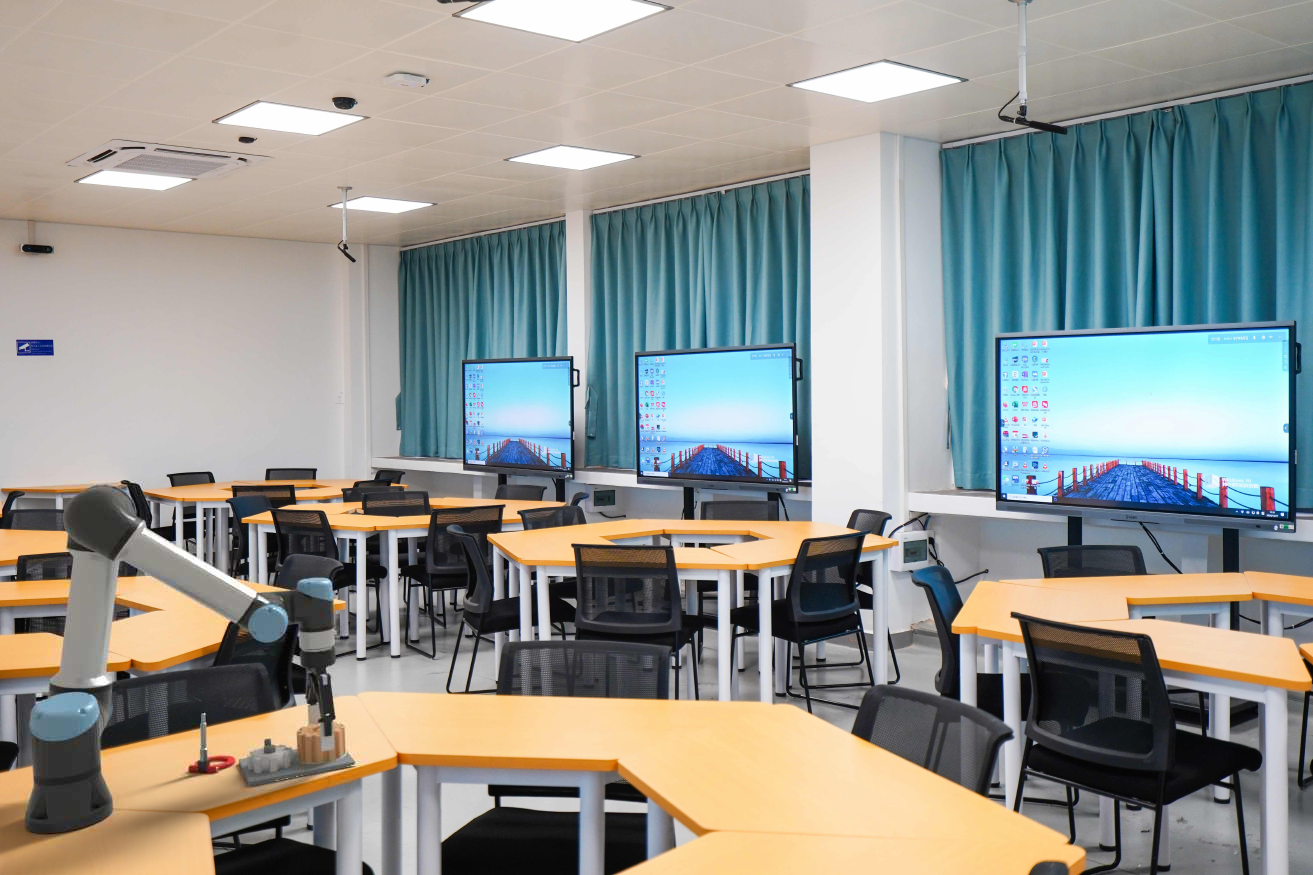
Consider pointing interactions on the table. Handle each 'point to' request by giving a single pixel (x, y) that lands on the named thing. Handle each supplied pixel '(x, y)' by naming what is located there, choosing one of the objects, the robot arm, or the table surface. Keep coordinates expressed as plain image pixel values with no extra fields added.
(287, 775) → the gear board
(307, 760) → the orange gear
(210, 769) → the tow hook
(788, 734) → the table surface
